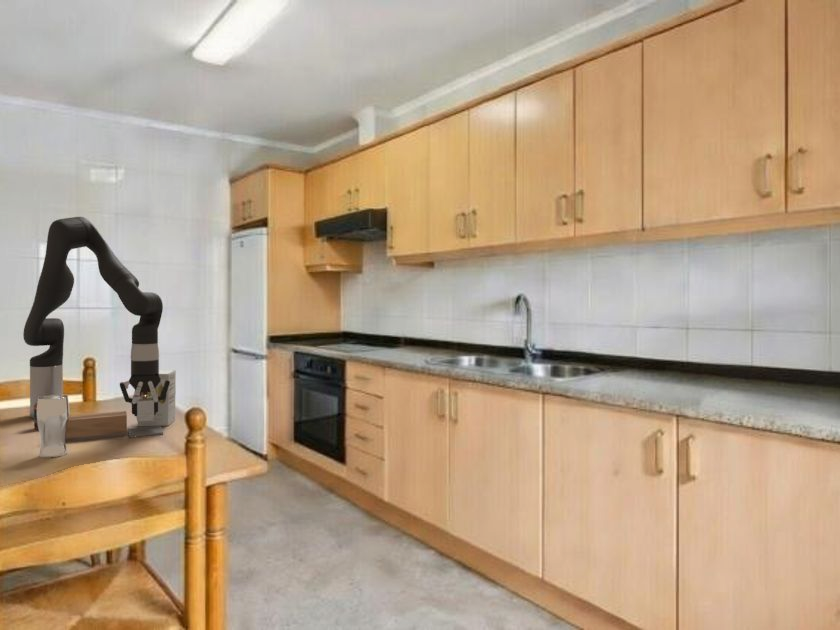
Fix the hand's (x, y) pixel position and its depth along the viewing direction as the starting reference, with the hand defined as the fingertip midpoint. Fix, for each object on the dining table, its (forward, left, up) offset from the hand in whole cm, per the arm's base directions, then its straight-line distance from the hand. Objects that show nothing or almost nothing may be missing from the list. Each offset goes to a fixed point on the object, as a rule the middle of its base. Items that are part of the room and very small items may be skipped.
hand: (145, 414), depth 163 cm
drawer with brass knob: (0, 0, -1) cm, 1 cm away
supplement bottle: (-20, -27, -6) cm, 34 cm away
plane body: (-2, -14, -5) cm, 15 cm away
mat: (0, 0, -5) cm, 5 cm away
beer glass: (+15, -22, -6) cm, 27 cm away
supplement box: (-12, +4, -6) cm, 14 cm away
